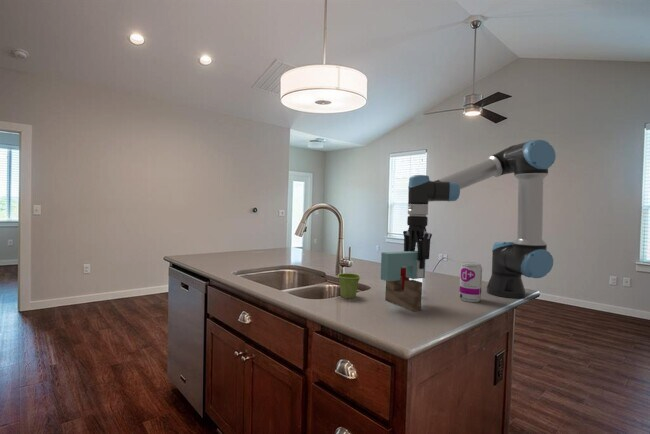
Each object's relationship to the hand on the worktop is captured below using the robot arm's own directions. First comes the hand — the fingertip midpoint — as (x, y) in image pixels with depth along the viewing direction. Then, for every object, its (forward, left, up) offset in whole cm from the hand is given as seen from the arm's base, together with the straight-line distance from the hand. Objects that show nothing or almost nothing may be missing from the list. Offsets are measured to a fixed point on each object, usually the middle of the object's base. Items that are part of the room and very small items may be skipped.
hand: (415, 275), depth 134 cm
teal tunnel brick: (+6, 0, -1) cm, 6 cm away
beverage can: (-4, -13, -11) cm, 17 cm away
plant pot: (+19, -18, -11) cm, 28 cm away
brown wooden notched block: (+6, 0, -11) cm, 12 cm away
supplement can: (-25, +5, -11) cm, 28 cm away
